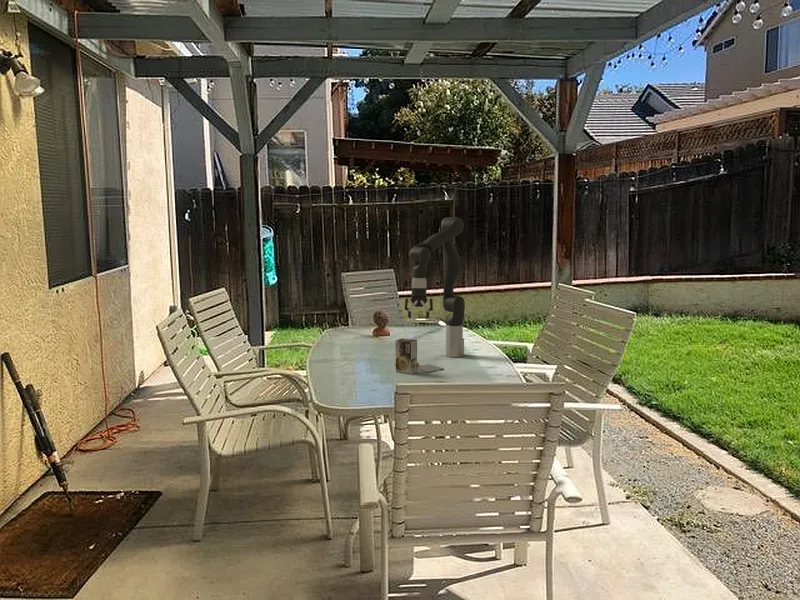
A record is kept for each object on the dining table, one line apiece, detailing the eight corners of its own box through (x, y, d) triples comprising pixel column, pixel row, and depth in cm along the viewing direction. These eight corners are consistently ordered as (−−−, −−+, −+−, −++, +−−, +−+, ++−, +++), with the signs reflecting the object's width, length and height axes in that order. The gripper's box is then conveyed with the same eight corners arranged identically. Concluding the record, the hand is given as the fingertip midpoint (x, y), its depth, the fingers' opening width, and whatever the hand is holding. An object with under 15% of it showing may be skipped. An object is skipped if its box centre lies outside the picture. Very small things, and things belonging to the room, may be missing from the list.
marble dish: (408, 363, 358) (408, 359, 358) (419, 366, 351) (419, 362, 350) (394, 366, 352) (394, 362, 352) (405, 369, 345) (405, 365, 345)
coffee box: (417, 371, 341) (417, 339, 339) (411, 374, 336) (411, 341, 333) (401, 369, 346) (401, 337, 343) (395, 372, 340) (395, 340, 338)
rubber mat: (428, 365, 354) (428, 364, 354) (444, 369, 345) (444, 368, 345) (412, 368, 347) (412, 367, 347) (427, 372, 338) (427, 371, 338)
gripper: (432, 286, 351) (431, 318, 353) (404, 286, 350) (403, 317, 352) (433, 287, 344) (433, 319, 345) (405, 287, 343) (404, 319, 344)
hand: (418, 318), depth 348 cm, fingers open, 8 cm apart
